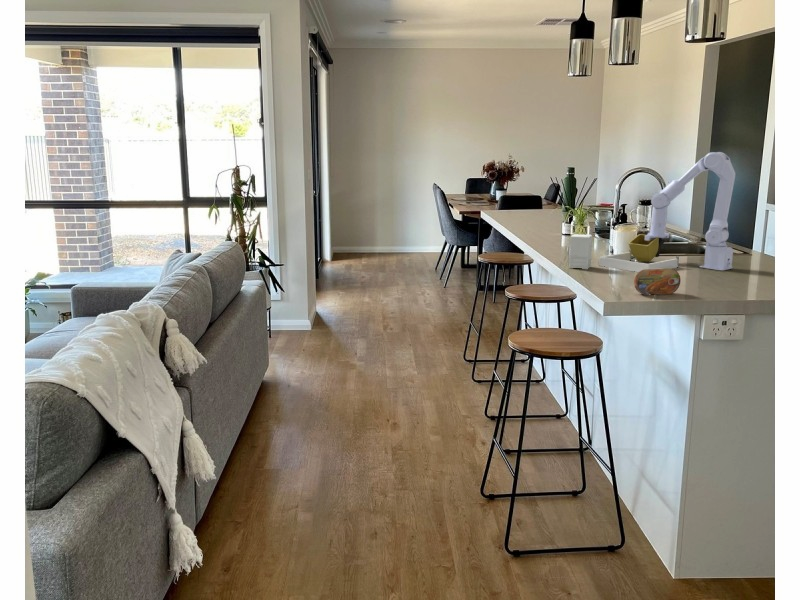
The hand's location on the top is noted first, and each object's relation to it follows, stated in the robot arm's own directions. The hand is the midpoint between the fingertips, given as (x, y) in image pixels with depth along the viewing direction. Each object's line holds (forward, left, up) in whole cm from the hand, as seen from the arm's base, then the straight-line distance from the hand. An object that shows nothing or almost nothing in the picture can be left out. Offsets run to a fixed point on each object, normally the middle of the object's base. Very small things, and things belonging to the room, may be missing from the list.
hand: (655, 256), depth 283 cm
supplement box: (+10, +35, -2) cm, 37 cm away
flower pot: (+2, +3, -1) cm, 4 cm away
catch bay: (-3, +15, -2) cm, 16 cm away
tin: (-35, +55, -2) cm, 65 cm away
